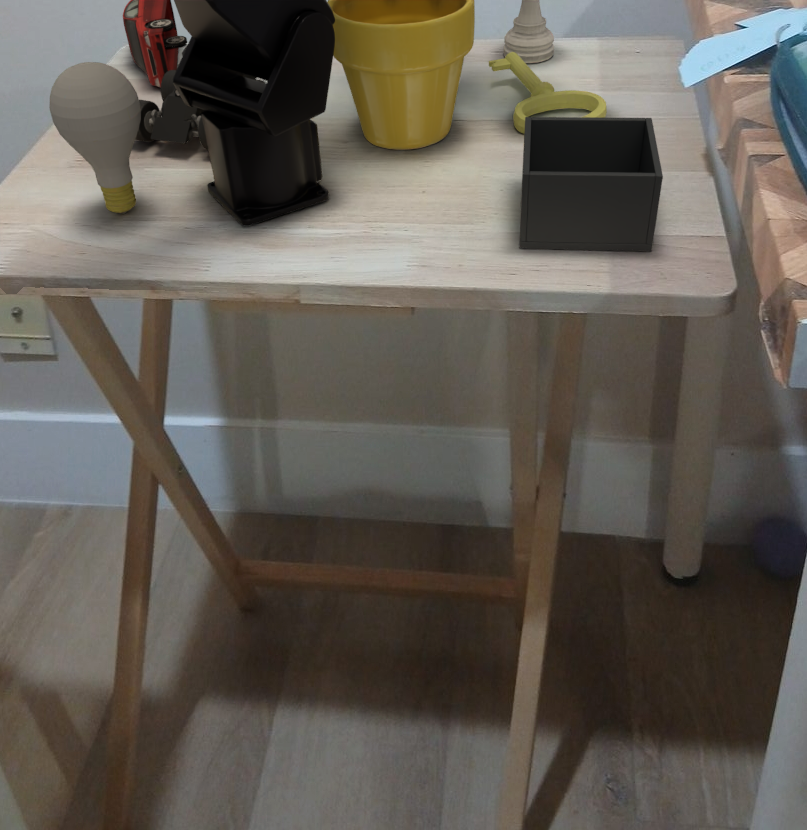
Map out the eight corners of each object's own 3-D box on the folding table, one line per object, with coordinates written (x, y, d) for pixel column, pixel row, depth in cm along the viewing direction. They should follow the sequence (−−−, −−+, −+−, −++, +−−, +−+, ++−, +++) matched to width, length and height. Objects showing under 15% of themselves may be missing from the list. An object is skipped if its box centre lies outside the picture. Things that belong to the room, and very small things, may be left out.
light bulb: (173, 192, 65) (140, 47, 59) (150, 232, 61) (111, 81, 54) (99, 192, 66) (58, 48, 59) (70, 231, 62) (23, 82, 55)
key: (511, 73, 78) (512, 48, 77) (618, 120, 71) (621, 92, 69) (444, 97, 75) (443, 71, 74) (548, 148, 68) (550, 120, 66)
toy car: (178, -31, 87) (124, -26, 86) (171, 34, 76) (109, 40, 76) (191, 28, 91) (139, 34, 90) (186, 98, 80) (127, 104, 80)
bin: (519, 248, 57) (522, 174, 54) (522, 187, 63) (525, 116, 60) (651, 251, 57) (663, 175, 53) (642, 189, 62) (651, 117, 59)
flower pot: (355, 172, 66) (343, 32, 60) (325, 116, 74) (311, -14, 67) (492, 149, 68) (495, 10, 62) (450, 96, 76) (448, -32, 69)
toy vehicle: (307, 84, 78) (295, -27, 73) (218, 161, 68) (195, 39, 62) (222, 74, 81) (204, -34, 75) (124, 148, 70) (94, 29, 65)
